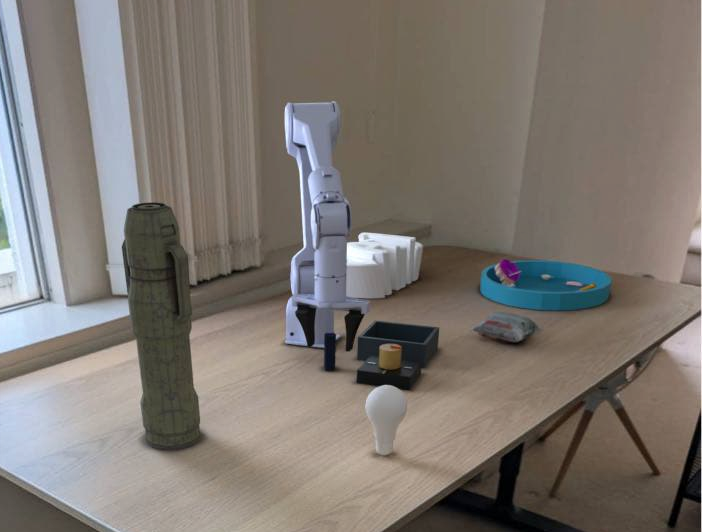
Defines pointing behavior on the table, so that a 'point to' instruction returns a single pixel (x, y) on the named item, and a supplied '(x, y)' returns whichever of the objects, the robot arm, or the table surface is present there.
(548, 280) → the round blue tray
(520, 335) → the packaged food
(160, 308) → the thermos
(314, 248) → the robot arm
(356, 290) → the wavy white extrusion
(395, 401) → the lightbulb
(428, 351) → the dark teal open box
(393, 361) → the tap knob
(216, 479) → the table surface
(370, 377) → the block
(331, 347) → the eraser
